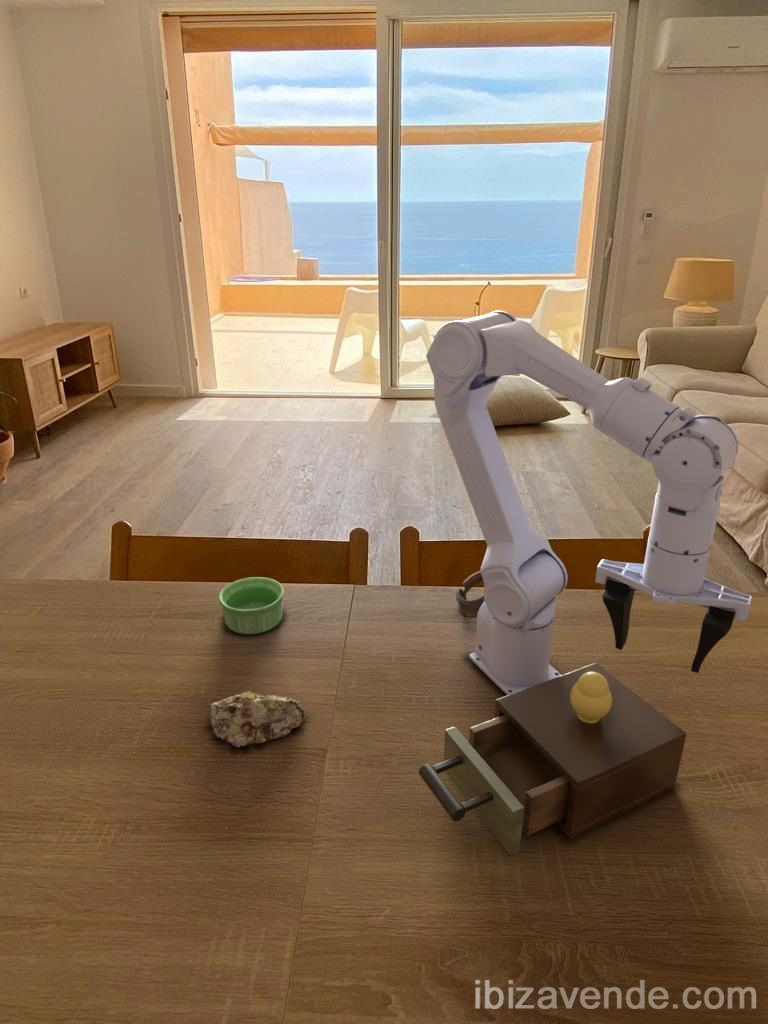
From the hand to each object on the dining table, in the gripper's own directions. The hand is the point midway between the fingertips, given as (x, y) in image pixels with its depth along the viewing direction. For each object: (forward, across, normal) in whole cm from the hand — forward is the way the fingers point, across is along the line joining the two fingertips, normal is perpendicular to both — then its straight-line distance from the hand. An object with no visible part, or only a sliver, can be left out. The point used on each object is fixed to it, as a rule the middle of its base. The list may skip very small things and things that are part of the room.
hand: (657, 655), depth 74 cm
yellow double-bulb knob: (+3, -4, -10) cm, 11 cm away
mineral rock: (+10, -38, -22) cm, 45 cm away
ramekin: (+10, -52, -6) cm, 54 cm away
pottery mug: (+10, -23, +13) cm, 29 cm away
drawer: (+9, -9, -17) cm, 22 cm away
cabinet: (+10, -4, -10) cm, 14 cm away
